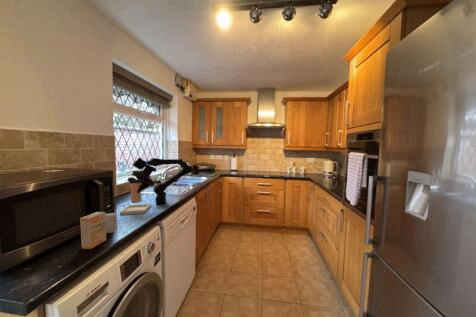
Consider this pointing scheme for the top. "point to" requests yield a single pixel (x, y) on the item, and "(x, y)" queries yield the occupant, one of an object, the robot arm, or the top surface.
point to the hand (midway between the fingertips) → (134, 192)
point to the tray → (135, 209)
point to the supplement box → (93, 230)
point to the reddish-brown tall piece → (135, 193)
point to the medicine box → (111, 222)
